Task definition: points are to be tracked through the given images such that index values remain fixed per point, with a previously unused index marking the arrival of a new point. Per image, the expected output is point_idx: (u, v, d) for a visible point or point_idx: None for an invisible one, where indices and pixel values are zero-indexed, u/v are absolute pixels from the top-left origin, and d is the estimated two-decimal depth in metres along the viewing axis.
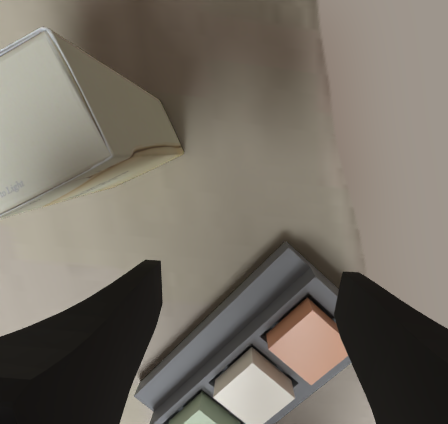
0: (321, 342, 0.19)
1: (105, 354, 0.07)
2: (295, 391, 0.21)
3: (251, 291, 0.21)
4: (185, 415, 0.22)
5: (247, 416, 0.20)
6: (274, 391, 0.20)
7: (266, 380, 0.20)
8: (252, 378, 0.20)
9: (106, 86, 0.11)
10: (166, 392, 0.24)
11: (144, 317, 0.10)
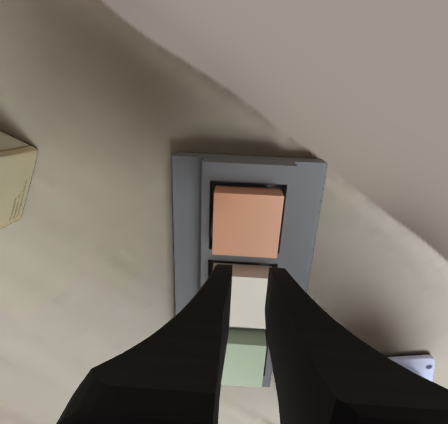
0: (248, 214, 0.17)
1: None
2: None
3: (179, 217, 0.20)
4: None
5: (251, 321, 0.20)
6: (252, 285, 0.19)
7: (236, 281, 0.19)
8: None
9: None
10: None
11: (227, 322, 0.10)
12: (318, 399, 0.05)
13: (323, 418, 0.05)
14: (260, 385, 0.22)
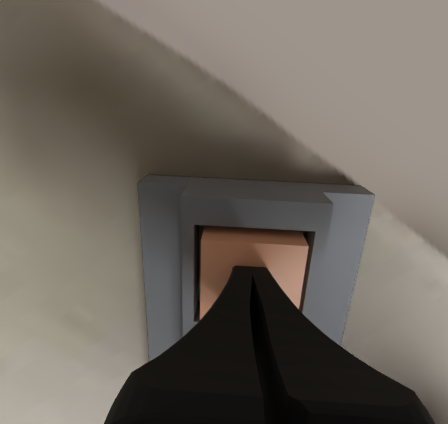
0: None
1: None
2: None
3: (152, 270, 0.14)
4: None
5: None
6: None
7: None
8: None
9: None
10: None
11: None
12: (278, 396, 0.05)
13: (280, 415, 0.05)
14: None
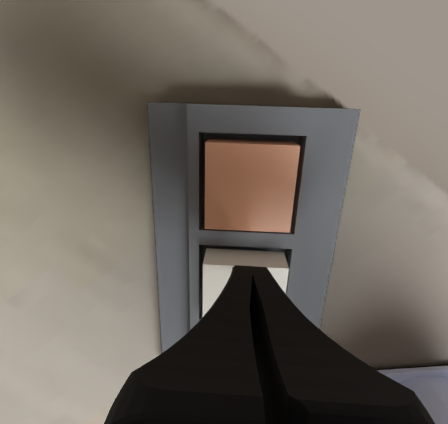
0: (252, 172, 0.13)
1: None
2: (297, 261, 0.15)
3: (160, 189, 0.15)
4: None
5: None
6: None
7: None
8: (220, 281, 0.14)
9: None
10: None
11: None
12: (278, 396, 0.05)
13: (281, 415, 0.05)
14: None
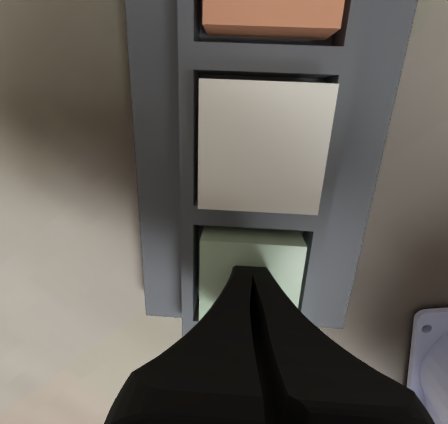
0: None
1: None
2: (346, 98, 0.10)
3: None
4: None
5: (282, 197, 0.09)
6: (287, 104, 0.08)
7: (254, 93, 0.08)
8: (227, 111, 0.09)
9: None
10: (177, 279, 0.14)
11: None
12: (278, 396, 0.05)
13: (281, 415, 0.05)
14: None
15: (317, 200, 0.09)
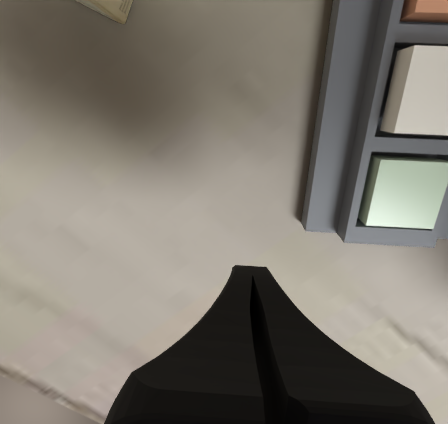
0: None
1: None
2: None
3: None
4: (370, 185, 0.17)
5: None
6: None
7: (447, 54, 0.14)
8: (428, 66, 0.14)
9: None
10: (335, 201, 0.19)
11: None
12: (278, 396, 0.05)
13: (281, 415, 0.05)
14: (432, 225, 0.17)
15: None
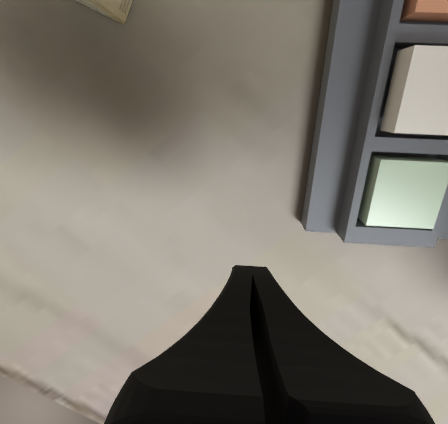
0: None
1: None
2: None
3: None
4: (370, 185, 0.17)
5: None
6: None
7: None
8: (428, 66, 0.14)
9: None
10: (335, 201, 0.19)
11: None
12: (278, 396, 0.05)
13: (280, 415, 0.05)
14: (432, 225, 0.17)
15: None
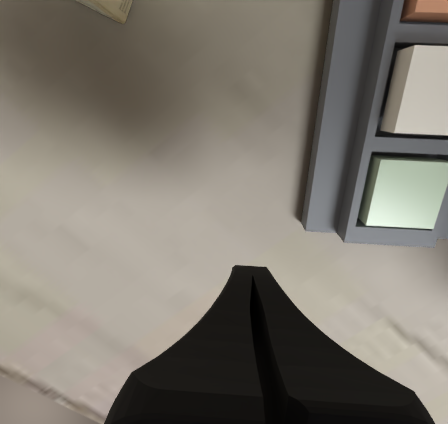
0: None
1: None
2: None
3: None
4: (370, 185, 0.17)
5: None
6: None
7: None
8: (428, 66, 0.14)
9: None
10: (335, 201, 0.19)
11: None
12: (278, 396, 0.05)
13: (280, 415, 0.05)
14: (432, 225, 0.17)
15: None
